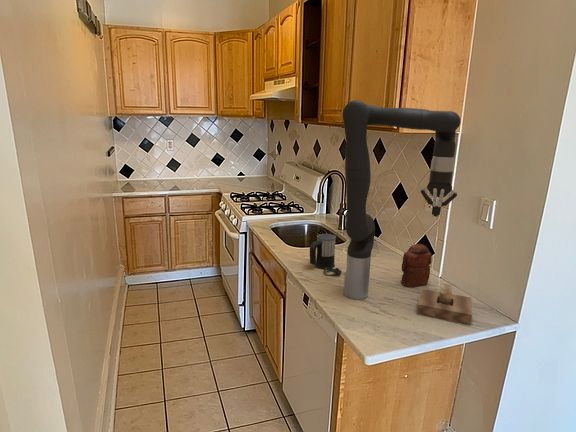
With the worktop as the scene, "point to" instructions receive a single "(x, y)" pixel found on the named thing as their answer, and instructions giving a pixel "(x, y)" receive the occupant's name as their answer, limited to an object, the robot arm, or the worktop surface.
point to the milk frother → (324, 252)
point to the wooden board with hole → (445, 307)
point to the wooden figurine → (416, 266)
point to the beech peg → (445, 294)
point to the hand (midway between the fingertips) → (435, 216)
